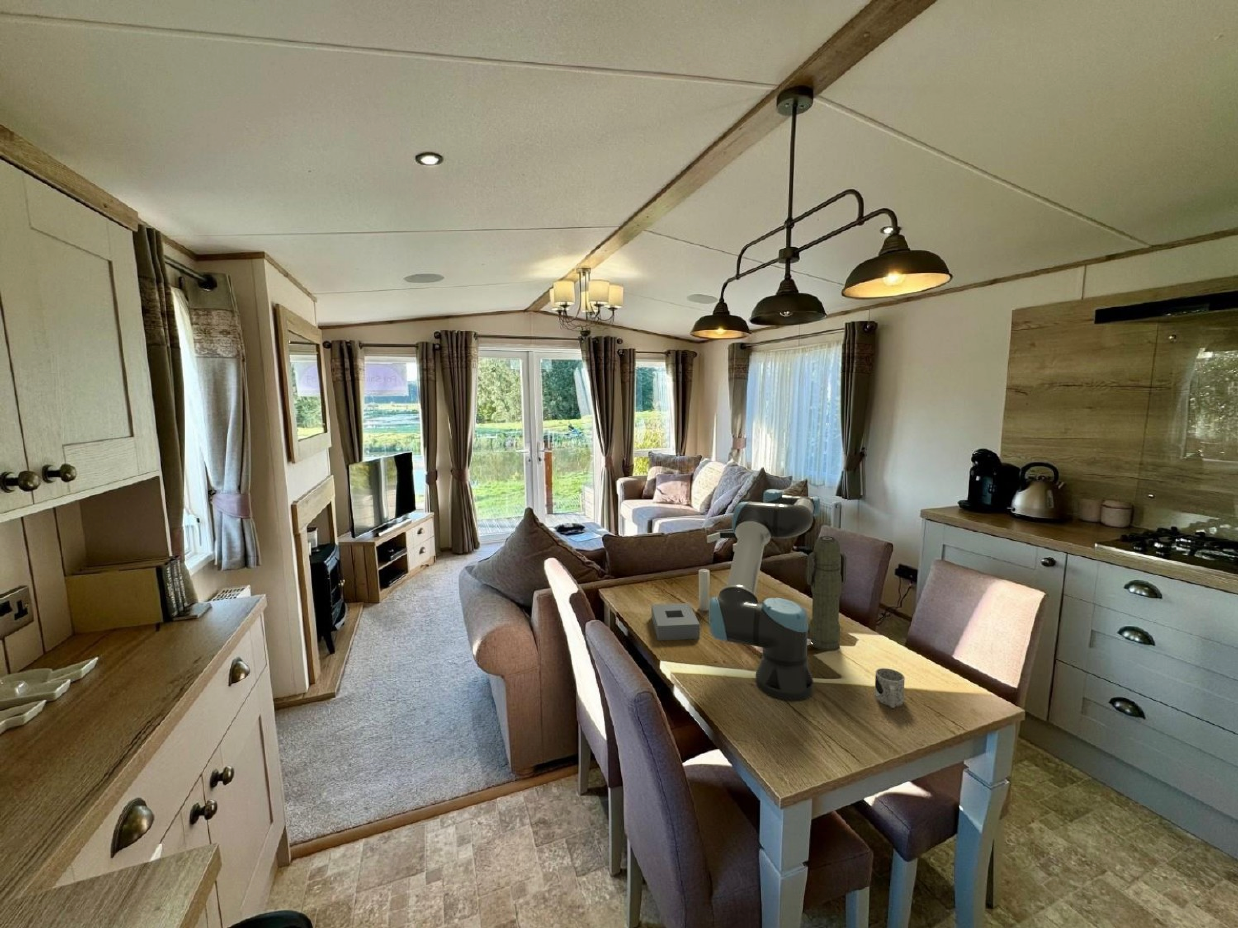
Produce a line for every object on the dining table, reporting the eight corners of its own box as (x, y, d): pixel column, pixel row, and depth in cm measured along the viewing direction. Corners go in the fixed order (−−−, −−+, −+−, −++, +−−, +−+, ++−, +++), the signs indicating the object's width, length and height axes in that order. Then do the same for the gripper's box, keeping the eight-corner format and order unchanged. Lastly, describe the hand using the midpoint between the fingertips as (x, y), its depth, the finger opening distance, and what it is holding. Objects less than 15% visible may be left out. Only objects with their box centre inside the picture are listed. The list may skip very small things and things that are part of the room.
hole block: (699, 638, 167) (699, 624, 166) (658, 640, 166) (657, 625, 165) (689, 615, 184) (689, 602, 184) (651, 617, 184) (651, 604, 183)
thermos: (850, 648, 157) (853, 540, 153) (815, 652, 155) (818, 543, 151) (833, 636, 166) (836, 533, 162) (800, 639, 164) (802, 535, 160)
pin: (710, 610, 189) (710, 572, 187) (700, 611, 189) (700, 572, 187) (708, 606, 193) (708, 568, 191) (698, 606, 193) (697, 569, 191)
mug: (873, 689, 135) (874, 666, 134) (901, 694, 132) (902, 670, 132) (877, 710, 126) (878, 685, 125) (907, 716, 123) (908, 690, 122)
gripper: (782, 548, 194) (745, 561, 183) (734, 533, 215) (697, 544, 203) (782, 529, 193) (745, 542, 181) (733, 516, 214) (697, 527, 202)
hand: (720, 543), depth 192 cm, fingers open, 13 cm apart
